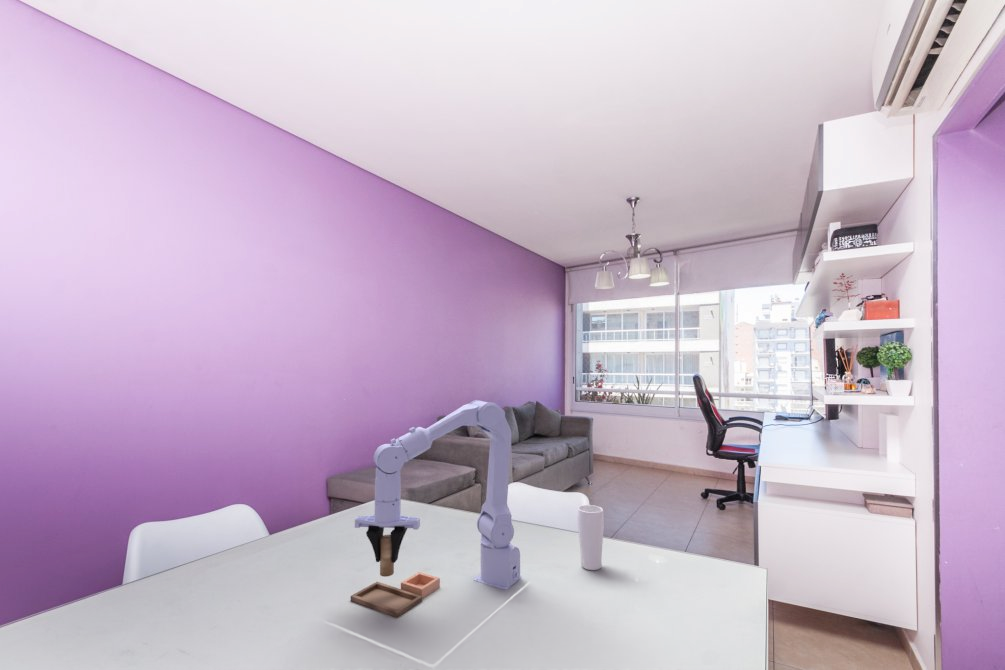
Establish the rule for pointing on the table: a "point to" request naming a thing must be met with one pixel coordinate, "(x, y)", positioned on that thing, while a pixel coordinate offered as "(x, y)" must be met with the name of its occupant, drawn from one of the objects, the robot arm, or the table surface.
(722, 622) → the table surface
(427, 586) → the open box
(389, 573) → the dowel
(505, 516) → the robot arm
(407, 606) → the tray
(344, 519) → the table surface
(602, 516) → the drinking glass
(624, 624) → the table surface
